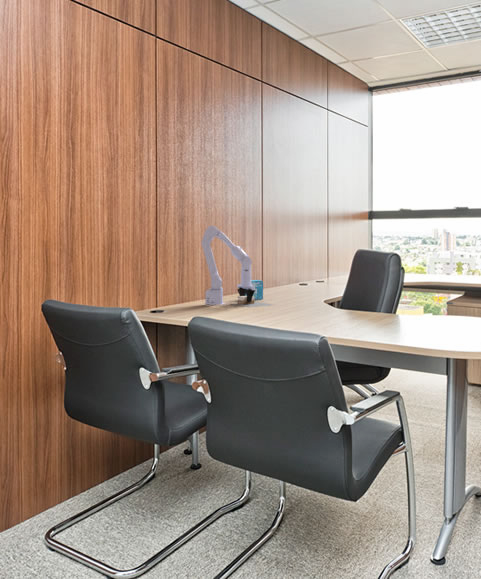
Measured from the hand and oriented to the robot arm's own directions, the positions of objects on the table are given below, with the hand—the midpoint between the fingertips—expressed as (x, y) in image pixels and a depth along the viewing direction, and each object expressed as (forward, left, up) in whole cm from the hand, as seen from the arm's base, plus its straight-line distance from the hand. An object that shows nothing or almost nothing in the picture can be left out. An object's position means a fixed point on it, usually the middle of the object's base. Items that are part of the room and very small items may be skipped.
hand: (246, 301), depth 310 cm
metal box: (0, 0, -1) cm, 1 cm away
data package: (+14, +13, -2) cm, 19 cm away
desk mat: (+1, -5, -2) cm, 5 cm away
